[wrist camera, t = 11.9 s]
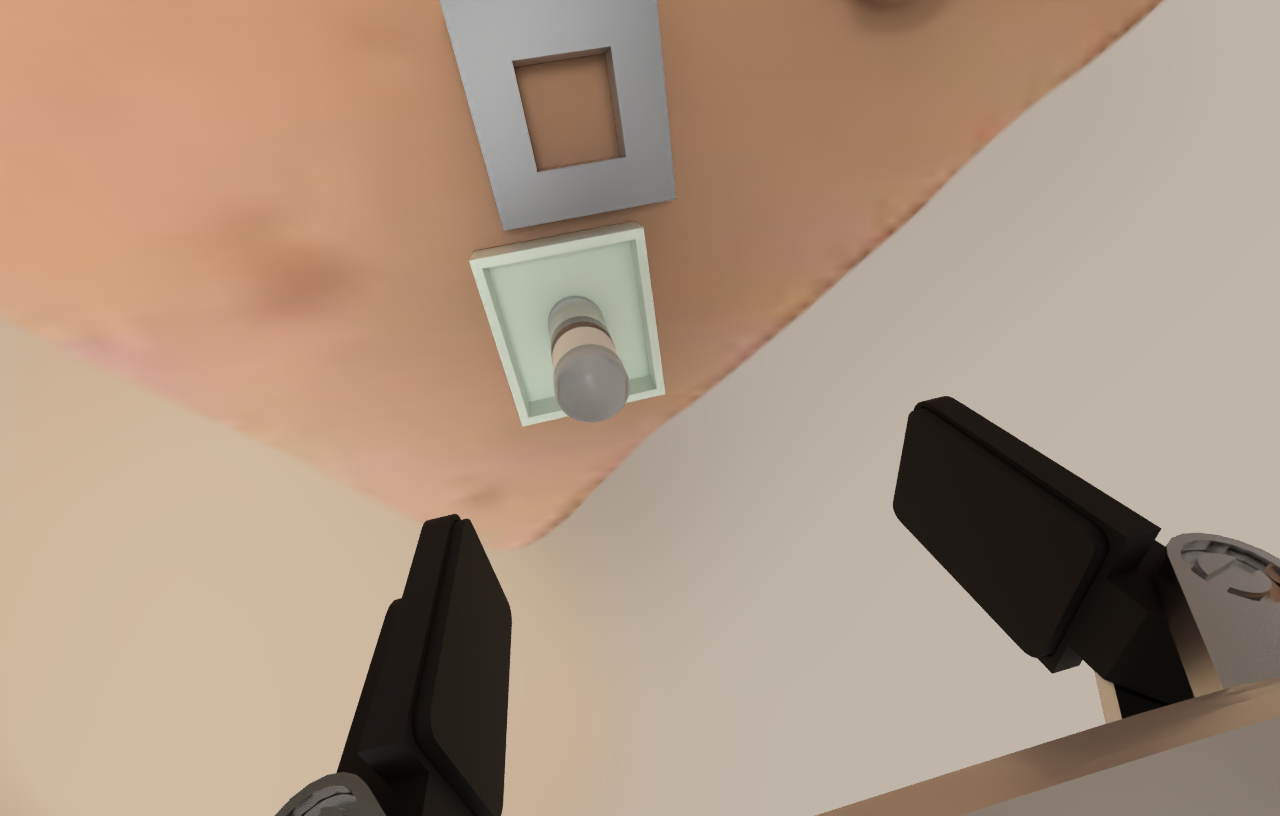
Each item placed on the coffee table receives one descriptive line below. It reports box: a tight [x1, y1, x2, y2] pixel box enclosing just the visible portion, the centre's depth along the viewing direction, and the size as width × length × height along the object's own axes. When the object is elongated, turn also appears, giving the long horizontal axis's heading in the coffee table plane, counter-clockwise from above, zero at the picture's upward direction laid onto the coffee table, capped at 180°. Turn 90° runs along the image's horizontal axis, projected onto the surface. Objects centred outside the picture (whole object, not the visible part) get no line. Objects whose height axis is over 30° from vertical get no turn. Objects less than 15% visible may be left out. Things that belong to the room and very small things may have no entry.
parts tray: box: [469, 221, 665, 426], centre depth 28 cm, size 9×10×2 cm
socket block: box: [440, 0, 676, 231], centre depth 23 cm, size 9×9×2 cm
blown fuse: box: [548, 296, 630, 423], centre depth 24 cm, size 3×3×9 cm
